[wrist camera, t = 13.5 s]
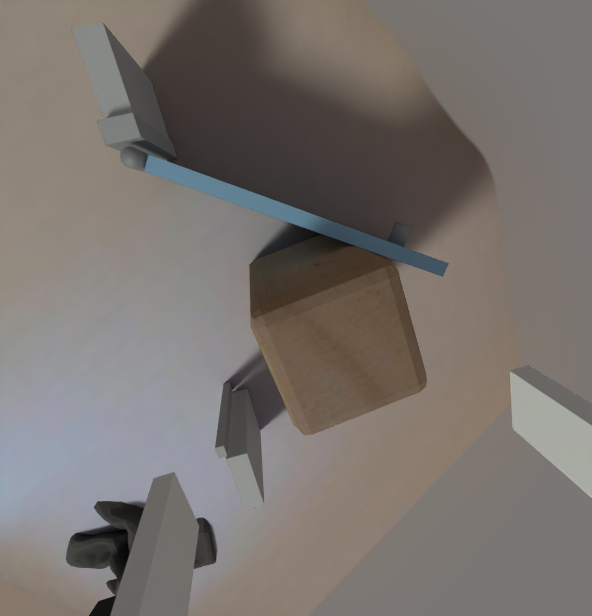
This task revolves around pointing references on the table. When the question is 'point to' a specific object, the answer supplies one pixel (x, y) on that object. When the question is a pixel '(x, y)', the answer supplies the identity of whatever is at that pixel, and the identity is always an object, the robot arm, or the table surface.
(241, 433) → the wall frame
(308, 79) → the table surface
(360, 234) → the door
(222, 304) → the table surface
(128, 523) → the cloth
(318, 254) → the wooden block
